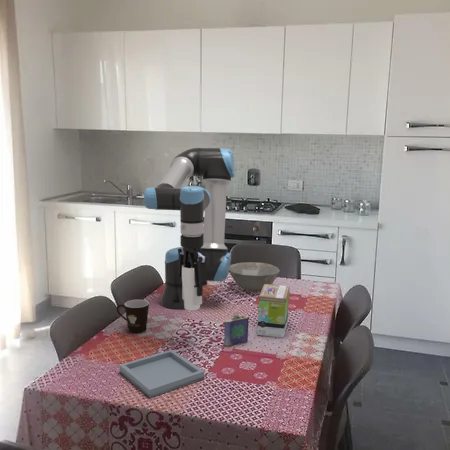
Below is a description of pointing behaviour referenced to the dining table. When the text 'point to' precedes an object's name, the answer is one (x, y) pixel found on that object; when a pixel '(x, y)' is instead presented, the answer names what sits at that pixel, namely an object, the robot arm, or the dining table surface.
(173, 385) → the tray
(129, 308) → the coffee mug
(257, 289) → the ceramic bowl
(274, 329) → the tea box
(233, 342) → the flask
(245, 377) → the dining table surface
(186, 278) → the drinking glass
